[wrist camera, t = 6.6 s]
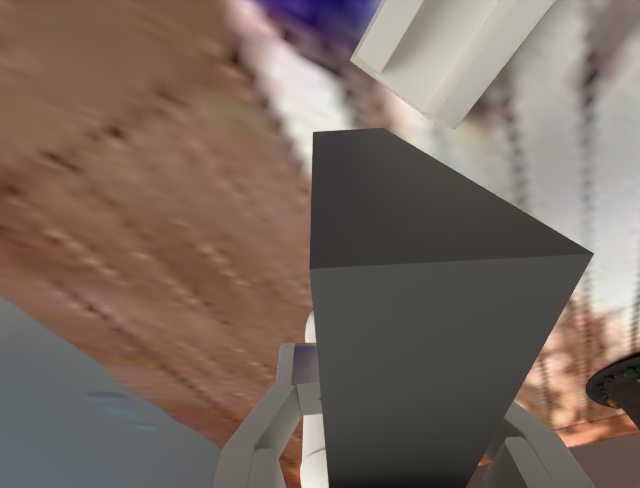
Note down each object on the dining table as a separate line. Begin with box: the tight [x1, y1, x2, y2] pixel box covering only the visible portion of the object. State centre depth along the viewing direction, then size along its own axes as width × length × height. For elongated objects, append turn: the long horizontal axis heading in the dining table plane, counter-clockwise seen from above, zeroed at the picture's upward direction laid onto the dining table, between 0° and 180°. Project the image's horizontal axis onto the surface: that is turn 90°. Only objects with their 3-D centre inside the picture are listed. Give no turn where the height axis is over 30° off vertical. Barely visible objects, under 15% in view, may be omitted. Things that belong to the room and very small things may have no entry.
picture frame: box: [310, 128, 594, 488], centre depth 11 cm, size 3×14×10 cm, turn 3°
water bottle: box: [300, 311, 329, 488], centre depth 24 cm, size 7×7×25 cm
